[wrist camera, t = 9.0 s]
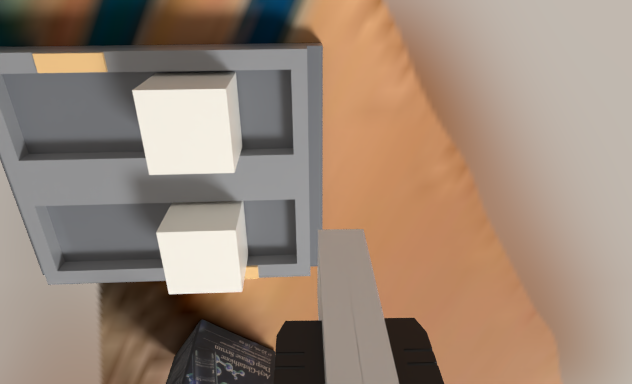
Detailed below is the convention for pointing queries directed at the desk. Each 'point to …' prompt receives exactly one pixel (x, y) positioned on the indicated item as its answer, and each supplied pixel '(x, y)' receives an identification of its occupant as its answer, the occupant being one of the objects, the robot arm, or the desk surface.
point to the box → (221, 359)
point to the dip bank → (130, 162)
